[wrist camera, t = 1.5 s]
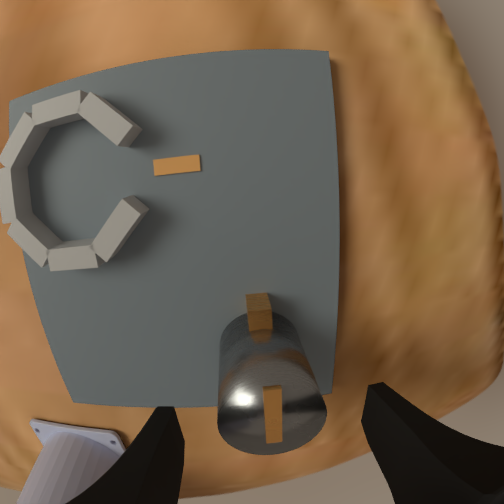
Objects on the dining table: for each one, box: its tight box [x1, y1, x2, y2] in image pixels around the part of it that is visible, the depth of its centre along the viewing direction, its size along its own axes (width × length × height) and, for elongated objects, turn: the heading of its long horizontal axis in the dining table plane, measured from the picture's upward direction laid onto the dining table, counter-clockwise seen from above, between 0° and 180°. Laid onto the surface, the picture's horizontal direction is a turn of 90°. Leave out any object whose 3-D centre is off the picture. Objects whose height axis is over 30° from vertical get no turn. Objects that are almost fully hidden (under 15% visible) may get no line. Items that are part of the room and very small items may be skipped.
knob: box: [217, 293, 327, 455], centre depth 13 cm, size 5×4×6 cm
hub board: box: [0, 49, 340, 408], centre depth 14 cm, size 18×16×2 cm
